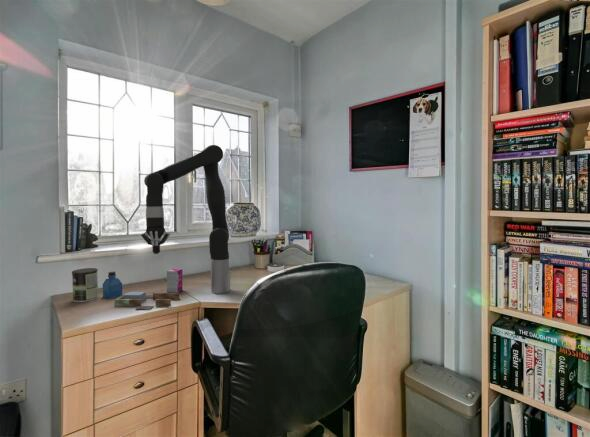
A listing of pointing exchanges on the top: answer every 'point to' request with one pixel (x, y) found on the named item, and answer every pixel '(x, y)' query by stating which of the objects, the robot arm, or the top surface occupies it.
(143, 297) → the slate block
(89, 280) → the coffee can
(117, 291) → the perfume bottle
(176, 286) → the supplement box
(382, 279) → the top surface
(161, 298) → the channel
